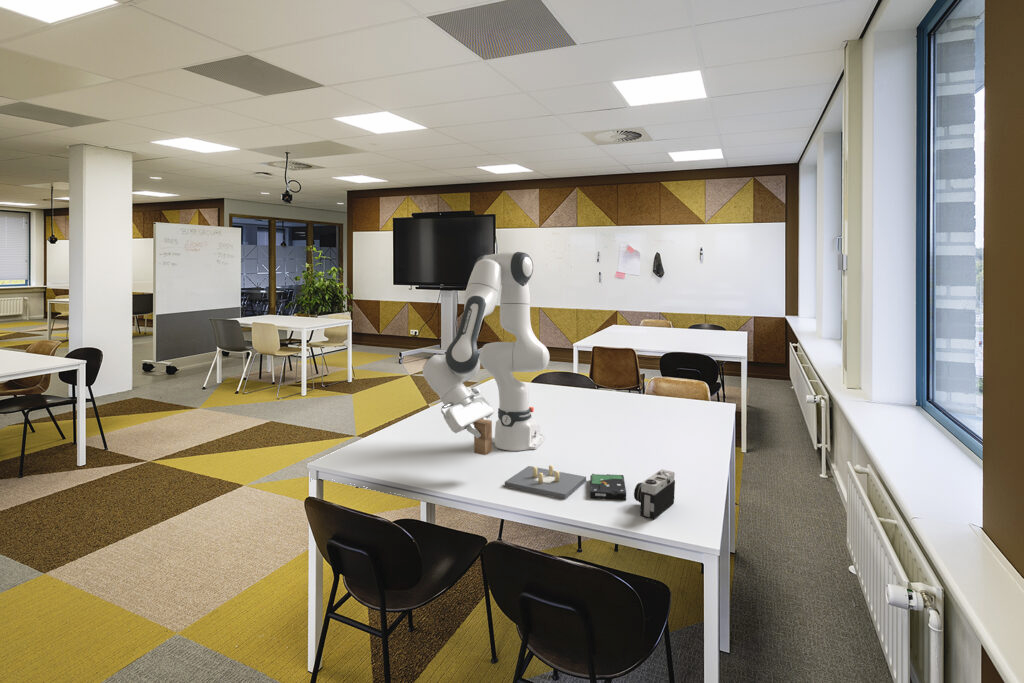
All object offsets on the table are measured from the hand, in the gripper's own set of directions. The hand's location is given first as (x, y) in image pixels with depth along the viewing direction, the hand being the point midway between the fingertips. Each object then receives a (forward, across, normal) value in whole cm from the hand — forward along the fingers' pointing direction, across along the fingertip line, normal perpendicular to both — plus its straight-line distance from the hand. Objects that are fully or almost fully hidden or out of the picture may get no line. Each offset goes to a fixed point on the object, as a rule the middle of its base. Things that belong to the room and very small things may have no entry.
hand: (484, 434), depth 173 cm
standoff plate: (+23, +5, -3) cm, 24 cm away
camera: (+47, +4, -26) cm, 54 cm away
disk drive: (+36, +10, -15) cm, 41 cm away
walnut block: (+4, 0, +5) cm, 6 cm away
